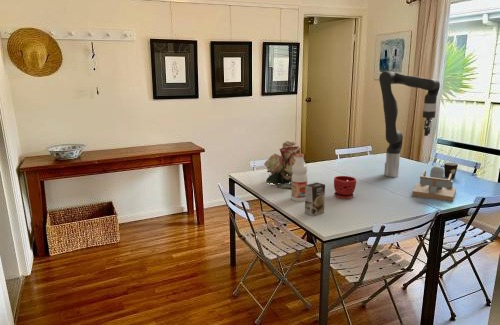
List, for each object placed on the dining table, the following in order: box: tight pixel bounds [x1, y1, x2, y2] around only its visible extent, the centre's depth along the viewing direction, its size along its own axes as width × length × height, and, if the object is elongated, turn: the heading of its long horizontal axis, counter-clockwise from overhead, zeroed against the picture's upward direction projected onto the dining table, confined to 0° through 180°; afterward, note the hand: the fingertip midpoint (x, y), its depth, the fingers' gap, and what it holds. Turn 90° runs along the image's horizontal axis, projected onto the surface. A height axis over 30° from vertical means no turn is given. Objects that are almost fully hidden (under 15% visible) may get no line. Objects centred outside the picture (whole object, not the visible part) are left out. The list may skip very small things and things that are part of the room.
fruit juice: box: [290, 152, 308, 202], centre depth 219 cm, size 9×9×28 cm
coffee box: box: [304, 182, 326, 217], centre depth 198 cm, size 9×6×16 cm
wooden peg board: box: [411, 165, 457, 202], centre depth 225 cm, size 22×21×17 cm
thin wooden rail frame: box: [419, 169, 452, 188], centre depth 226 cm, size 16×17×5 cm
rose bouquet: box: [264, 140, 306, 189], centre depth 250 cm, size 26×29×30 cm
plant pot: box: [333, 175, 357, 200], centre depth 224 cm, size 13×13×12 cm
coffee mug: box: [439, 161, 459, 180], centre depth 261 cm, size 12×9×10 cm
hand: (427, 134), depth 243 cm, fingers open, 8 cm apart
